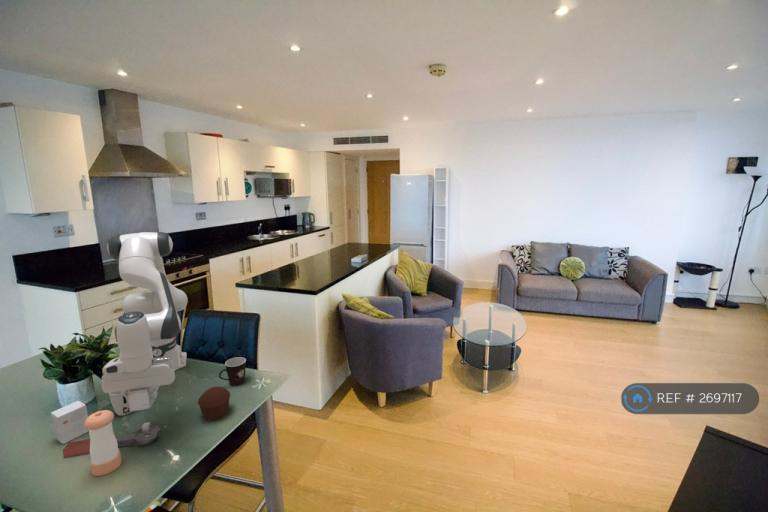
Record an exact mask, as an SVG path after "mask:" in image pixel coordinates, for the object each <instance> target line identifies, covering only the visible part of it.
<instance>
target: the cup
mask: <svg viewBox="0 0 768 512" xmlns="http://www.w3.org/2000/svg"><path fill="white" fill-rule="evenodd" d="M128 391H129V390H128ZM108 397H109V399H110V400H109V401H110V403H111V405H112V408H113V411H115V413H116V415H117V416H119V417H120V416H126V415H129V414H131V413H132V412H133V411H130V407H129V402H127V401H126V398H125V397H124V396H123V395H122V394H121V391H118V392H111V393H108Z"/></svg>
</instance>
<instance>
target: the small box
mask: <svg viewBox="0 0 768 512" xmlns="http://www.w3.org/2000/svg"><path fill="white" fill-rule="evenodd" d="M87 409H88V408H87V405H86V404H85V403H83V402H82V401H80V400H76V401H74V402H72V403H70V404H67V405H65V406H63V407H60V408H58V409H56V410H54V411H51V412H50V416H51V423H52V426H53V427H52V428H53V432H54V436H55V437H54V438H55V440H56V441H58V442H59V443H61V444H62V445H64V444H66V443H67V444H68V443H69V442H70V441H71V442H72V440H74V439H78V437H80V436H82V435H85V434H86V433H89V430H88V429H86V428H85V427H84V422H85V420H86V419H87V417H89V414H88V410H87Z"/></svg>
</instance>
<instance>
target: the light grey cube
mask: <svg viewBox="0 0 768 512" xmlns="http://www.w3.org/2000/svg"><path fill="white" fill-rule="evenodd" d="M152 391H155V389H153V387H148V388H140V389H133V390H129V391H128V392H127V393H128V400H129V407H130V411H132V412H136V411H141V410H149V409H151V408H152V405H153V404H154V402H155V400H156V398H151V395H150V394H151V393H152Z"/></svg>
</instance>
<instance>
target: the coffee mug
mask: <svg viewBox="0 0 768 512" xmlns="http://www.w3.org/2000/svg"><path fill="white" fill-rule="evenodd" d="M224 365H225V369H222V370H221V371H219V374H218V377H219V379H221V380H224V381H228V384H229V386H231V387H236V386H237V387H238V386H240V385H243V384H244V383H245V381H246V370H247V369H246V365H247V359H246V358H245V357H240V356H239V357H237V356H236V357H232V358H229V359H227V360H226V361H225V363H224ZM223 372H226V373H227V374H226V375H227V378H223V377H222V376H221V375H222V373H223Z"/></svg>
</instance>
